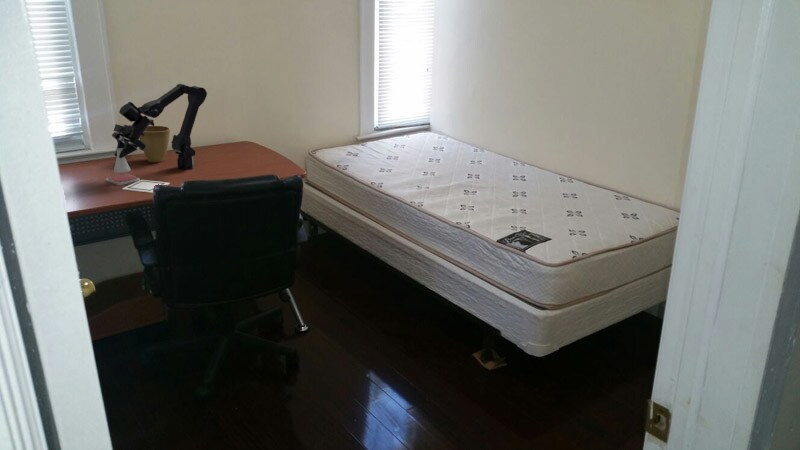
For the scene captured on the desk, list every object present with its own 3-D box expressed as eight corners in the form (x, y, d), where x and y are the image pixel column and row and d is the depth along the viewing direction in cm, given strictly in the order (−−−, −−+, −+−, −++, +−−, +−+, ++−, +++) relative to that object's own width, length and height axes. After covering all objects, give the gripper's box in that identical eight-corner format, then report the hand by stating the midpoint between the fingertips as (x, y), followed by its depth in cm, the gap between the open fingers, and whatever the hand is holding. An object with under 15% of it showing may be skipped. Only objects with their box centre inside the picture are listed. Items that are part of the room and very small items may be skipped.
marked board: (141, 180, 284) (141, 179, 284) (170, 183, 282) (170, 182, 281) (122, 189, 272) (121, 188, 271) (151, 192, 269) (151, 191, 269)
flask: (129, 173, 279) (126, 150, 275) (111, 173, 277) (108, 151, 274) (132, 168, 285) (130, 146, 282) (115, 169, 284) (112, 147, 280)
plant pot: (163, 165, 308) (159, 132, 302) (134, 163, 310) (130, 130, 304) (178, 158, 321) (175, 126, 316) (150, 155, 324) (147, 124, 318)
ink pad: (127, 176, 289) (127, 173, 289) (139, 181, 284) (139, 177, 283) (106, 180, 282) (105, 177, 281) (118, 185, 276) (117, 182, 276)
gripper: (113, 113, 281) (92, 142, 277) (136, 120, 270) (114, 150, 266) (132, 128, 290) (111, 156, 286) (155, 135, 279) (134, 165, 275)
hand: (117, 156), depth 278 cm, fingers closed on flask, 3 cm apart
